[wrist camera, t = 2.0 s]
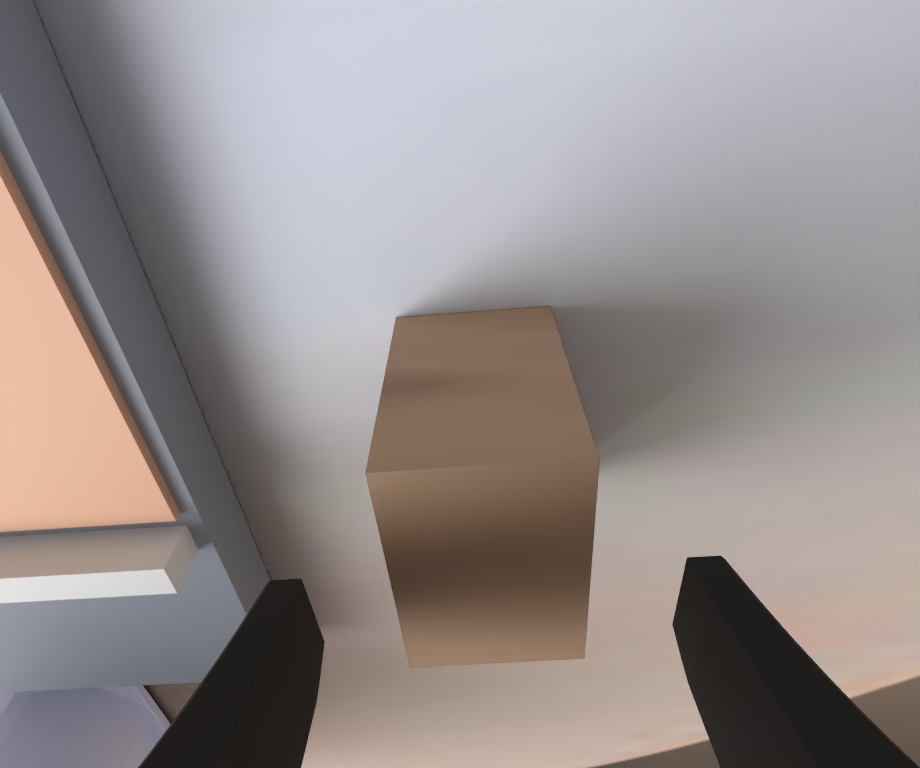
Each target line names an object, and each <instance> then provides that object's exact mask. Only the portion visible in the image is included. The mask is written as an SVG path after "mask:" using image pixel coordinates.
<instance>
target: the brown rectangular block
mask: <svg viewBox="0 0 920 768" xmlns="http://www.w3.org/2000/svg"><path fill="white" fill-rule="evenodd" d="M599 460H600V458H599V455H598V452H597V449H596V446H595V442H594V439H593V436H592V433H591V430H590V427H589V424H588V421H587V418H586V415H585V412H584V409H583V405H582V402H581V399H580V396H579V393H578V390H577V387H576V384H575V381H574V378H573V375H572V372H571V369H570V365H569V362H568V359H567V356H566V353H565V350H564V347H563V344H562V341H561V338H560V335H559V332H558V328H557V325H556V322H555V319H554V316H553V313H552V310H551V307H550V306H541V307H528V308H514V309H501V310H488V311H474V312H461V313H447V314H434V315H420V316H407V317H396V320H395V325H394V331H393V336H392V341H391V346H390V351H389V356H388V361H387V366H386V371H385V377H384V382H383V387H382V392H381V397H380V402H379V407H378V412H377V417H376V423H375V428H374V433H373V438H372V443H371V448H370V453H369V458H368V463H367V469H366V477H367V481H368V486H369V490H370V495H371V499H372V503H373V508H374V512H375V516H376V521H377V525H378V530H379V534H380V538H381V543H382V547H383V551H384V556H385V560H386V565H387V569H388V573H389V578H390V582H391V586H392V591H393V595H394V600H395V604H396V608H397V613H398V617H399V621H400V626H401V630H402V635H403V639H404V643H405V648H406V652H407V657H408V661H409V665H410V667H426V666H445V665H465V664H485V663H504V662H524V661H544V660H564V659H583V658H584V657H585V644H586V631H587V618H588V605H589V592H590V578H591V565H592V552H593V539H594V526H595V512H596V499H597V486H598V473H599Z"/></svg>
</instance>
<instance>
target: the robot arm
mask: <svg viewBox="0 0 920 768" xmlns="http://www.w3.org/2000/svg"><path fill="white" fill-rule="evenodd" d="M673 628H674V632H675V636H676V640H677V643H678V647H679V651H680V655H681V659H682V662H683V666H684V670H685V673H686V677H687V680H688V683H689V686H690V689H691V692H692V694H693V697H694V700H695V702H696V705H697V708H698V710H699V713H700V715H701V718H702V721H703V723H704V726H705V729H706V731H707V734H708V736H709V739H710V742H711V744H712V747H713V749H714V752H715V754H716V757H717V760H718V762H719V765H720V767H721V768H920V767H919V766H918V765H917V764H916V763H915V762H913V761H912V760H911V759H910V758H909V757H908V756H907V755H906V754H905V753H904V752H903V751H902V750H901V749H900V748H899V747H898V746H896V744H895V743H894V742H893V741H892V740H890V739H889V738H888V737H887V736H886V735H885V734H884V733H883V732H882V731H881V730H880V729H879V728H878V727H877V726H876V725H875V724H874V723H873V722H872V721H871V720H870V719H869V718H868V717H867V716H866V715H865V714H864V713H863V712H862V711H861V710H860V709H859V708H858V707H857V706H856V705H855V704H854V703H853V702H852V701H851V700H850V699H849V698H848V697H847V696H846V695H845V694H844V693H843V692H842V690H841V689H840V688H839V687H838V686H837V685H836V684H835V683H834V682H833V681H832V680H831V679H830V678H829V677H828V676H827V675H826V674H825V673H824V672H823V670H822V669H821V668H820V667H819V666H818V665H817V664H816V663H815V662H814V661H813V660H812V659H811V658H810V656H809V655H808V654H807V653H806V652H805V651H804V650H803V649H802V648H801V647H800V646H799V645H798V643H797V642H796V641H795V640H794V639H793V638H792V637H791V636H790V635H789V633H788V632H787V631H786V630H785V629H784V628H783V627H782V626H781V624H780V623H779V622H778V621H777V620H776V619H775V618H774V616H773V615H772V614H771V613H770V612H769V611H768V610H767V608H766V607H765V606H764V605H763V604H762V603H761V601H760V600H759V599H758V598H757V597H756V596H755V594H754V593H753V592H752V591H751V590H750V588H749V587H748V586H747V585H746V584H745V583H744V581H743V580H742V579H741V578H740V577H739V575H738V574H737V573H736V572H735V571H734V569H733V568H732V567H731V566H730V565H729V563H728V562H727V561H726V560H725V559H724V558H723V557H722V556H707V557H689V558H687V560H686V565H685V569H684V574H683V579H682V583H681V588H680V592H679V597H678V602H677V606H676V611H675V615H674V620H673ZM323 649H324V639H323V637H322V634H321V631H320V628H319V626H318V623H317V620H316V617H315V615H314V612H313V609H312V607H311V604H310V601H309V598H308V596H307V593H306V590H305V587H304V585H303V582H302V579H288V580H270V581H269V582H268V583H267V584H266V585H265V586H264V588H263V590H262V591H261V593H260V594H259V596H258V598H257V599H256V601H255V602H254V604H253V605H252V607H251V609H250V610H249V612H248V613H247V615H246V616H245V618H244V619H243V621H242V623H241V624H240V626H239V627H238V629H237V630H236V632H235V633H234V635H233V636H232V638H231V639H230V641H229V642H228V644H227V645H226V647H225V648H224V650H223V651H222V653H221V654H220V656H219V657H218V659H217V660H216V662H215V663H214V665H213V666H212V667H211V669H210V670H209V672H208V673H207V675H206V676H205V678H204V679H203V680H202V682H201V683H200V685H199V686H198V688H197V689H196V690H195V692H194V693H193V695H192V696H191V698H190V699H189V700H188V702H187V703H186V705H185V706H184V707H183V709H182V710H181V711H180V713H179V714H178V715H177V717H176V718H175V719H174V721H173V722H172V723H171V724H170V722H169V721H168V720H167V718H166V717H165V716H164V714H163V713H162V711H161V710H160V709H159V707H158V706H157V704H156V703H155V702H154V700H153V699H152V697H151V696H150V695H149V693H148V692H147V691H146V689H145V688H144V686H143V685H142V686H122V687H103V688H83V689H63V690H43V691H24V692H4V693H0V768H301V765H302V761H303V757H304V753H305V749H306V744H307V740H308V736H309V732H310V727H311V723H312V719H313V715H314V710H315V706H316V701H317V696H318V688H319V681H320V674H321V666H322V657H323Z"/></svg>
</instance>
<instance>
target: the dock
mask: <svg viewBox="0 0 920 768" xmlns="http://www.w3.org/2000/svg"><path fill="white" fill-rule="evenodd" d="M269 581H270V577H269V575H268V573H267V570H266V568H265V565H264V563H263V560H262V558H261V556H260V553H259V551H258V548H257V546H256V543H255V541H254V538H253V536H252V534H251V531H250V529H249V526H248V524H247V521H246V519H245V517H244V514H243V512H242V509H241V507H240V504H239V502H238V499H237V497H236V495H235V492H234V490H233V487H232V485H231V482H230V480H229V478H228V475H227V473H226V470H225V468H224V465H223V463H222V460H221V458H220V456H219V453H218V451H217V448H216V446H215V443H214V441H213V439H212V436H211V434H210V431H209V429H208V426H207V424H206V422H205V419H204V417H203V414H202V412H201V409H200V407H199V404H198V402H197V400H196V397H195V395H194V392H193V390H192V387H191V385H190V383H189V380H188V378H187V375H186V373H185V370H184V368H183V365H182V363H181V361H180V358H179V356H178V353H177V351H176V348H175V346H174V344H173V341H172V339H171V336H170V334H169V331H168V329H167V326H166V324H165V322H164V319H163V317H162V314H161V312H160V309H159V307H158V305H157V302H156V300H155V297H154V295H153V292H152V290H151V287H150V285H149V283H148V280H147V278H146V275H145V273H144V270H143V268H142V266H141V263H140V261H139V258H138V256H137V253H136V251H135V249H134V246H133V244H132V241H131V239H130V236H129V234H128V231H127V229H126V227H125V224H124V222H123V219H122V217H121V214H120V212H119V210H118V207H117V205H116V202H115V200H114V197H113V195H112V192H111V190H110V188H109V185H108V183H107V180H106V178H105V175H104V173H103V171H102V168H101V166H100V163H99V161H98V158H97V156H96V153H95V151H94V149H93V146H92V144H91V141H90V139H89V136H88V134H87V132H86V129H85V127H84V124H83V122H82V119H81V117H80V114H79V112H78V110H77V107H76V105H75V102H74V100H73V97H72V95H71V93H70V90H69V88H68V85H67V83H66V80H65V78H64V75H63V73H62V71H61V68H60V66H59V63H58V61H57V58H56V56H55V54H54V51H53V49H52V46H51V44H50V41H49V39H48V37H47V34H46V32H45V29H44V27H43V24H42V22H41V19H40V17H39V15H38V12H37V10H36V7H35V5H34V2H33V0H0V693H4V692H24V691H43V690H63V689H83V688H103V687H122V686H142V685H162V684H182V683H201V682H202V680H203V679H204V678H205V676H206V675H207V673H208V672H209V670H210V669H211V667H212V666H213V665H214V663H215V662H216V660H217V659H218V657H219V656H220V654H221V653H222V651H223V650H224V648H225V647H226V645H227V644H228V642H229V641H230V639H231V638H232V636H233V635H234V633H235V632H236V630H237V629H238V627H239V626H240V624H241V623H242V621H243V619H244V618H245V616H246V615H247V613H248V612H249V610H250V609H251V607H252V605H253V604H254V602H255V601H256V599H257V598H258V596H259V594H260V593H261V591H262V590H263V588H264V586H265V585H266V584H267V583H268V582H269Z"/></svg>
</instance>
